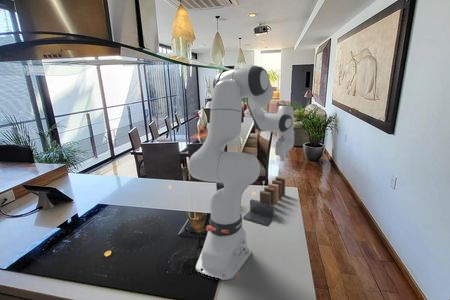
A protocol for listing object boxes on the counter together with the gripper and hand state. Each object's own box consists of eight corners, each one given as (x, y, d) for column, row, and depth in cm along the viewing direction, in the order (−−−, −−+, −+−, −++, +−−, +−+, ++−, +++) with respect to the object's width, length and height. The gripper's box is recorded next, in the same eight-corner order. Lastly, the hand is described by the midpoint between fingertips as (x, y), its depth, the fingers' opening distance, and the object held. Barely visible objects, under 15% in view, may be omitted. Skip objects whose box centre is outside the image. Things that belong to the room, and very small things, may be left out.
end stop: (266, 225, 106) (266, 213, 104) (243, 218, 112) (242, 207, 111) (274, 216, 113) (274, 204, 111) (251, 210, 119) (251, 199, 118)
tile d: (273, 208, 120) (273, 189, 118) (264, 205, 123) (264, 187, 120) (274, 206, 122) (274, 188, 119) (265, 204, 124) (265, 186, 122)
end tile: (283, 196, 132) (284, 179, 130) (275, 194, 135) (275, 177, 132) (284, 194, 134) (285, 178, 131) (276, 193, 136) (276, 176, 134)
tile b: (280, 199, 128) (280, 182, 126) (271, 197, 131) (272, 180, 128) (281, 198, 130) (282, 181, 127) (273, 196, 132) (273, 179, 130)
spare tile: (269, 200, 128) (269, 183, 126) (278, 202, 126) (278, 185, 123) (268, 201, 127) (268, 184, 124) (277, 203, 124) (277, 186, 122)
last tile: (269, 212, 116) (269, 193, 114) (260, 210, 119) (259, 191, 116) (270, 211, 118) (270, 192, 115) (261, 208, 120) (261, 190, 118)
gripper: (283, 139, 120) (283, 165, 124) (296, 131, 137) (295, 154, 140) (272, 138, 124) (272, 163, 127) (285, 131, 140) (285, 153, 144)
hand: (284, 159), depth 134 cm, fingers open, 5 cm apart
